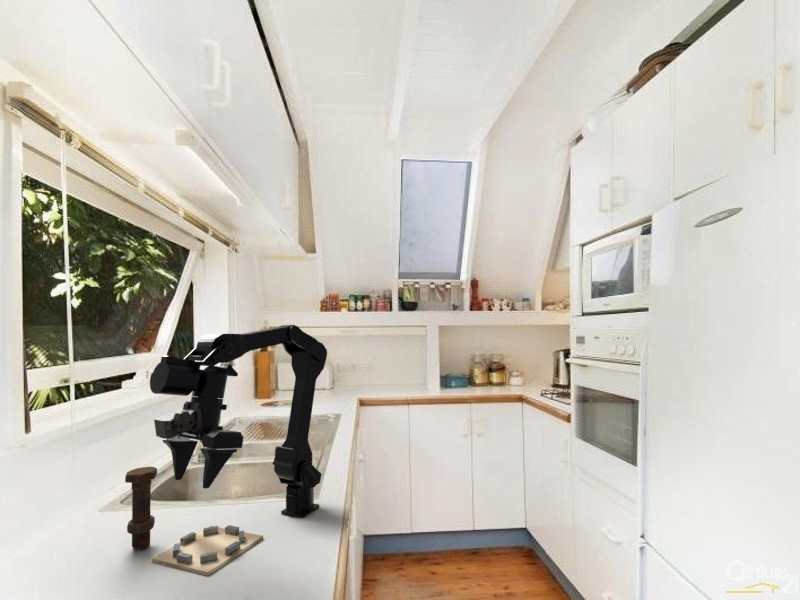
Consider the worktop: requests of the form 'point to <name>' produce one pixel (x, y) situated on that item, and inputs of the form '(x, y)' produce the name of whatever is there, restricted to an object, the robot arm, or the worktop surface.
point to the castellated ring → (210, 556)
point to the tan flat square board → (207, 551)
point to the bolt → (141, 506)
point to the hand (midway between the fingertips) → (191, 483)
